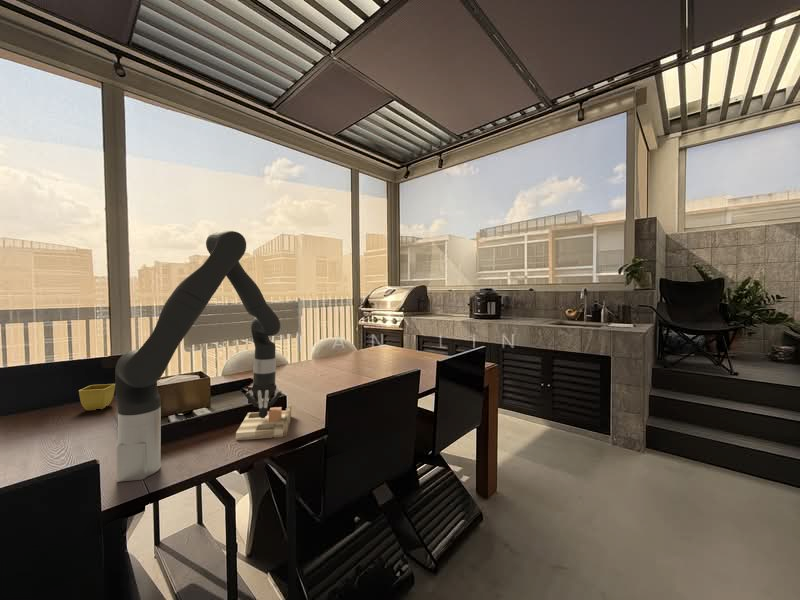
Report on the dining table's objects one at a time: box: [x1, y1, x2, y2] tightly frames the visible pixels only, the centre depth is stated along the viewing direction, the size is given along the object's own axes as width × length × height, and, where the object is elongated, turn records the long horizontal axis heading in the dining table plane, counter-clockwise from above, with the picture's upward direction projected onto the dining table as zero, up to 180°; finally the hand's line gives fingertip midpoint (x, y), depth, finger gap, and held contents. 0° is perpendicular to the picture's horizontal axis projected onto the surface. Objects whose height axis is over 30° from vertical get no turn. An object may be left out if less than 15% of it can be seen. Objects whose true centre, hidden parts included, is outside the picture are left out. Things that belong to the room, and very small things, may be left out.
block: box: [268, 406, 283, 422], centre depth 123 cm, size 4×4×4 cm
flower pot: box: [78, 383, 116, 411], centre depth 138 cm, size 9×9×9 cm
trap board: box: [235, 403, 292, 441], centre depth 123 cm, size 19×16×5 cm
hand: (263, 417), depth 122 cm, fingers closed
